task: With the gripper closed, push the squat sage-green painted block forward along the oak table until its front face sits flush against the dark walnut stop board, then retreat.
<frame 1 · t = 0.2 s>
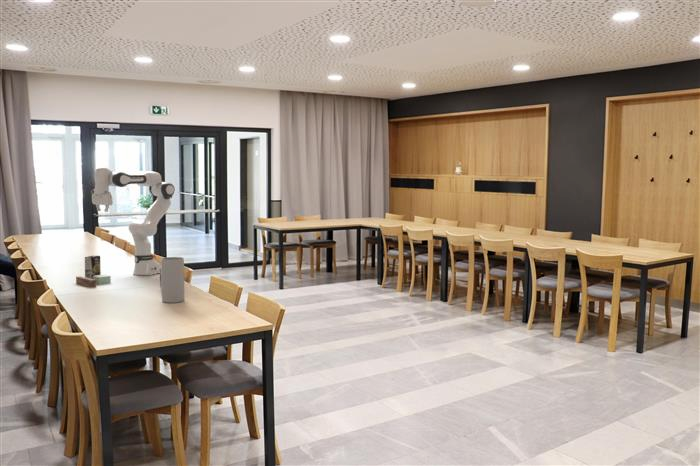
hand: (102, 211, 414), 47 cm above the table, fingers open, 8 cm apart
supplement tub: (170, 289, 389), on the table
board: (86, 285, 397), on the table
coffee box: (93, 279, 418), on the table
block: (101, 283, 405), on the table
cylinder vase: (173, 301, 352), on the table
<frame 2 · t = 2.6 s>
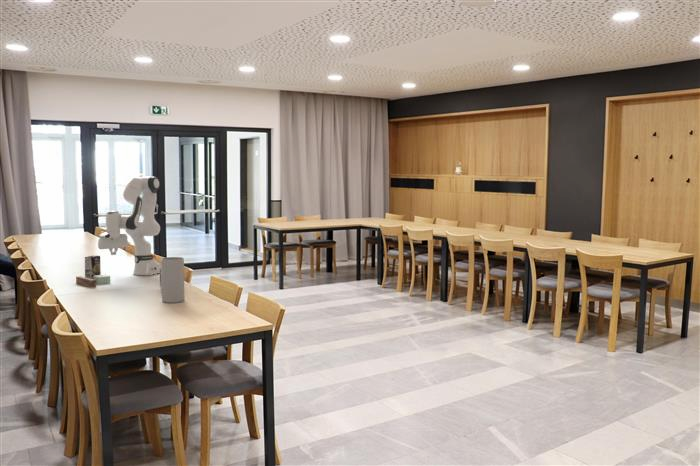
hand: (113, 254, 410), 18 cm above the table, fingers closed
nothing on the table moved.
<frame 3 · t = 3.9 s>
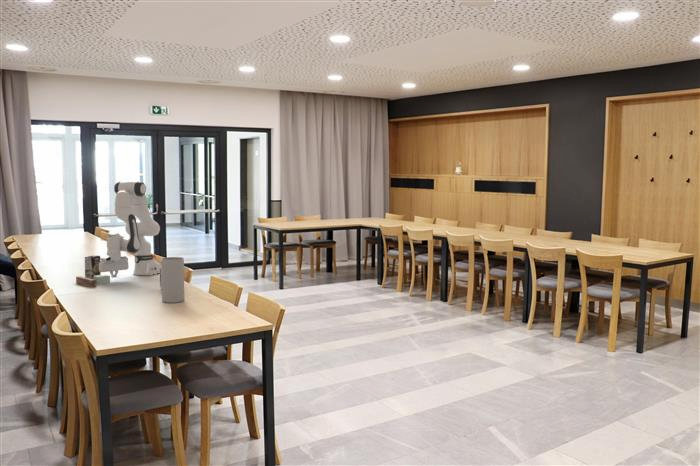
hand: (114, 277, 411), 3 cm above the table, fingers closed
nothing on the table moved.
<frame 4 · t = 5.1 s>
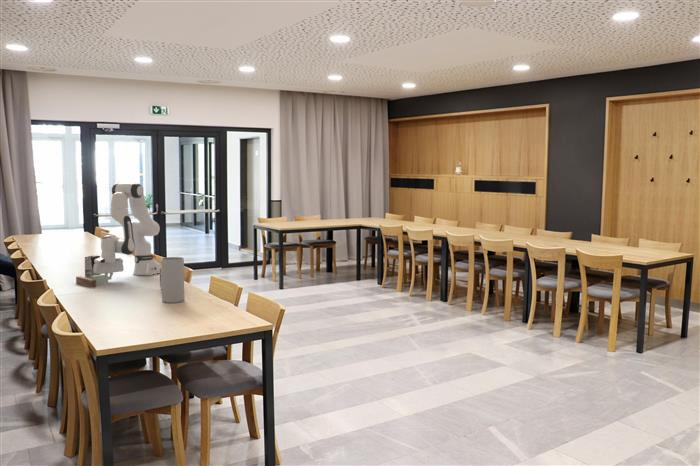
hand: (108, 279, 409), 2 cm above the table, fingers closed
block: (100, 283, 404), on the table, touching gripper
everything else where it was.
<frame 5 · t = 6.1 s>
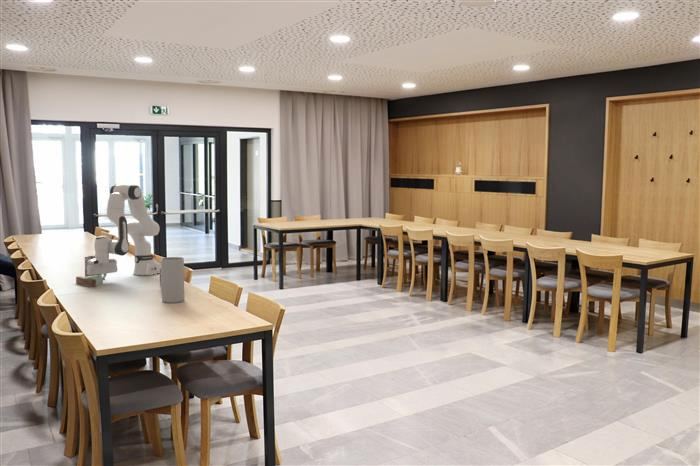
hand: (102, 280, 406), 2 cm above the table, fingers closed
block: (93, 284, 401), on the table, touching gripper
everything else where it was.
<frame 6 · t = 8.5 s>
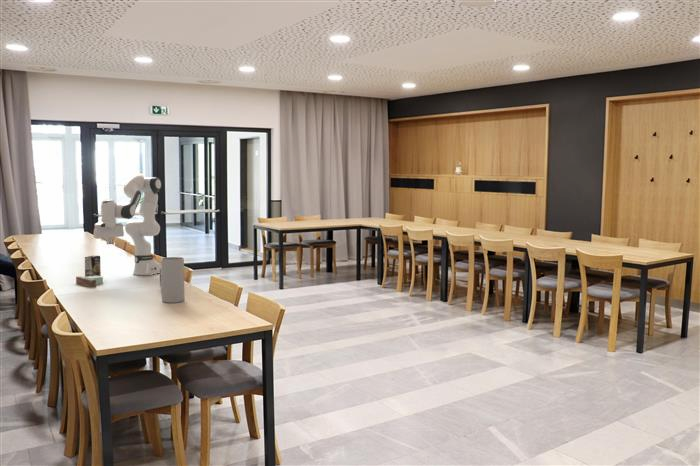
hand: (109, 244, 407), 26 cm above the table, fingers closed
block: (94, 284, 401), on the table
everything else where it was.
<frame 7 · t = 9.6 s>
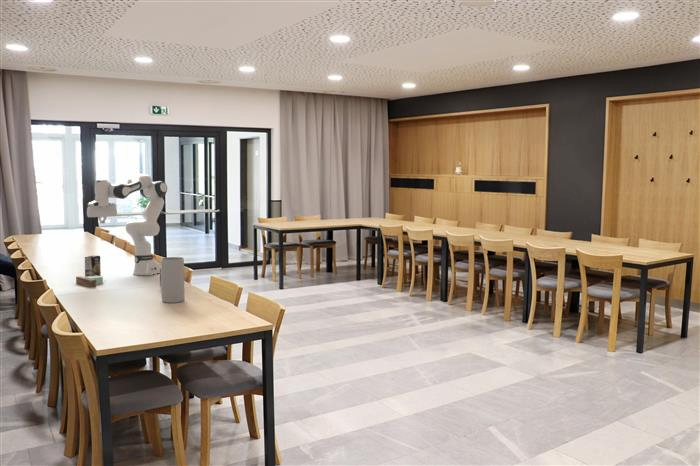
hand: (102, 223, 413), 39 cm above the table, fingers closed
nothing on the table moved.
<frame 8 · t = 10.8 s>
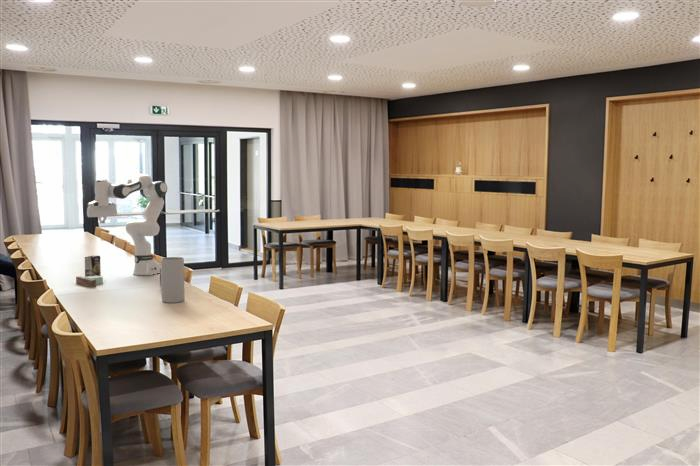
hand: (102, 223, 413), 39 cm above the table, fingers closed
nothing on the table moved.
at the end: block inside the target area on the table beside the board (0.7 cm from its centre), on the table; block tilted 0°; block moved 5.4 cm from its start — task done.
